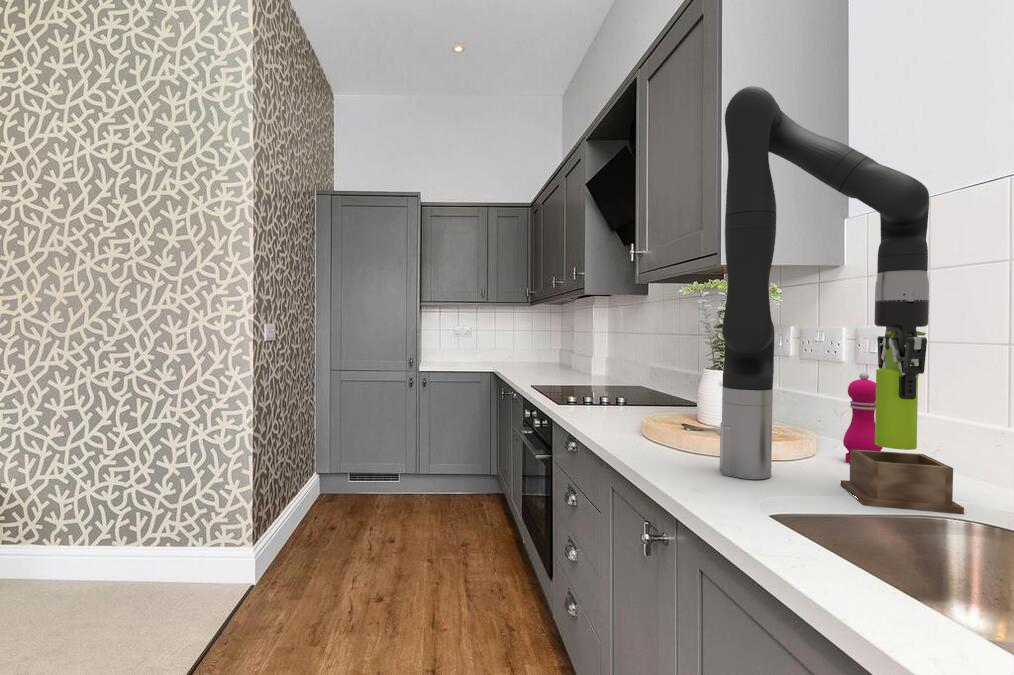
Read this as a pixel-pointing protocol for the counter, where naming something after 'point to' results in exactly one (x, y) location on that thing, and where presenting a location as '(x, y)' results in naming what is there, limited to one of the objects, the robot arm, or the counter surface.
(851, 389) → the pepper mill
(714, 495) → the counter surface
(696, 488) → the counter surface
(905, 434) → the soap dispenser
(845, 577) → the counter surface
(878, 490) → the box
